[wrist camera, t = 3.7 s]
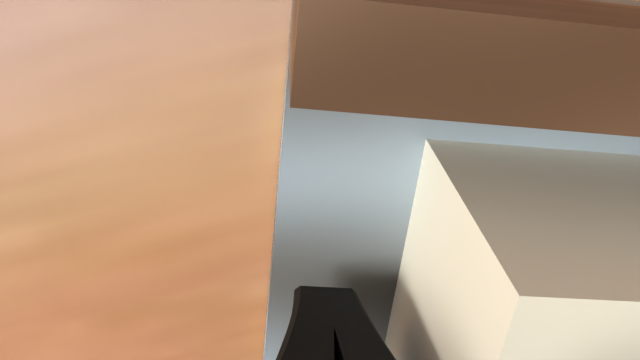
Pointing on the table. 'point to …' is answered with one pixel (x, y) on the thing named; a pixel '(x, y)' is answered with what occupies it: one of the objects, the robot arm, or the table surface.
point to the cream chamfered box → (520, 256)
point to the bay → (427, 119)
